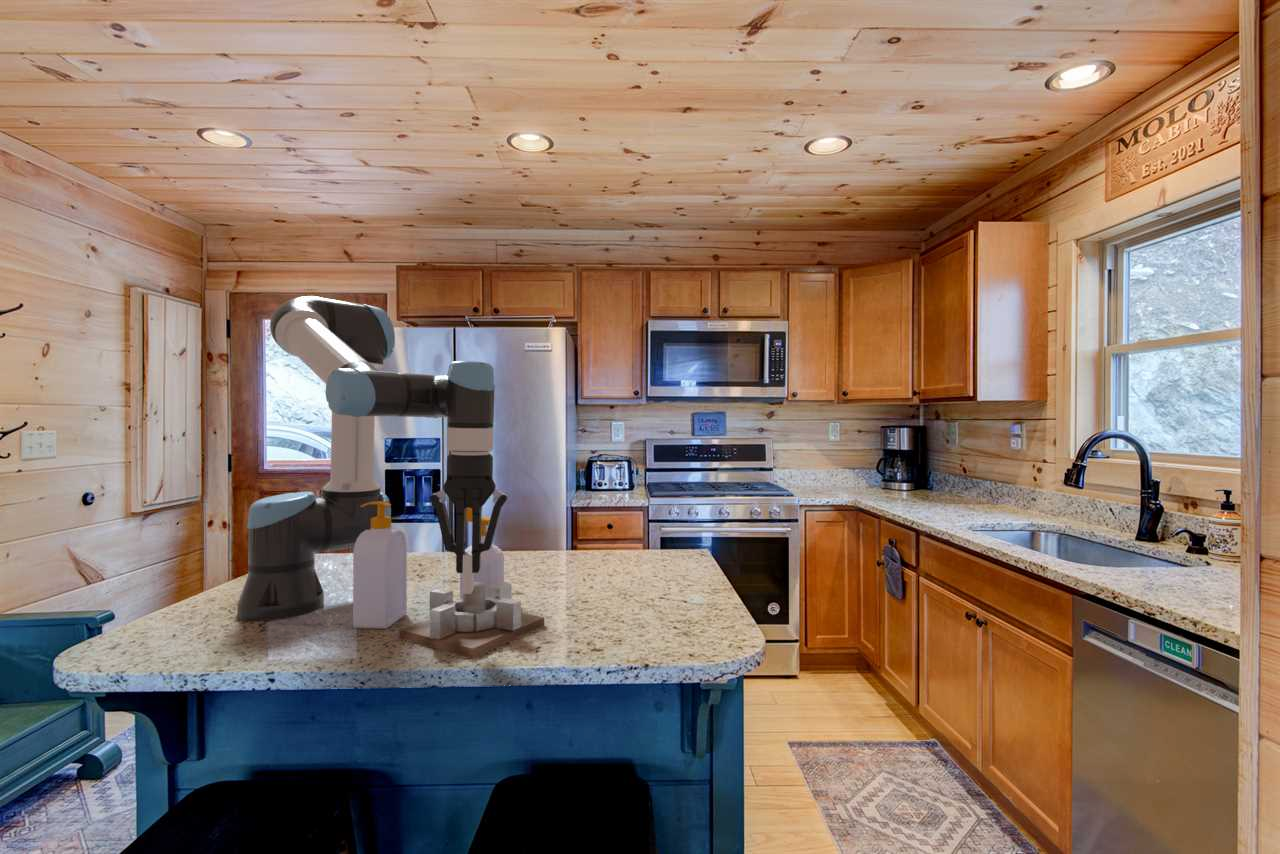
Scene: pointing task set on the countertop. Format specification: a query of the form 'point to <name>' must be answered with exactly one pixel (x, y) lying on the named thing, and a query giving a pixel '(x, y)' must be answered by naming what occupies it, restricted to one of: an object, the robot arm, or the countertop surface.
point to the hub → (471, 641)
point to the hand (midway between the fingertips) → (467, 591)
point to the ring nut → (451, 618)
